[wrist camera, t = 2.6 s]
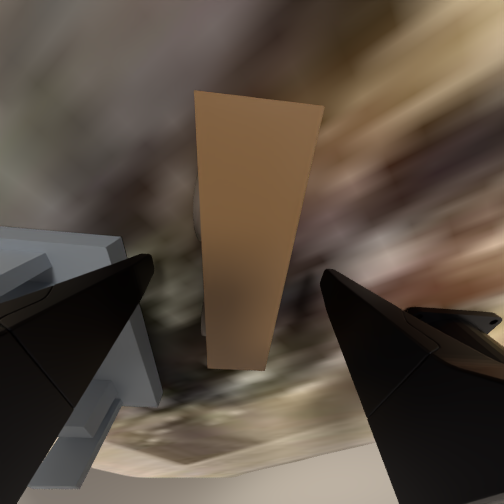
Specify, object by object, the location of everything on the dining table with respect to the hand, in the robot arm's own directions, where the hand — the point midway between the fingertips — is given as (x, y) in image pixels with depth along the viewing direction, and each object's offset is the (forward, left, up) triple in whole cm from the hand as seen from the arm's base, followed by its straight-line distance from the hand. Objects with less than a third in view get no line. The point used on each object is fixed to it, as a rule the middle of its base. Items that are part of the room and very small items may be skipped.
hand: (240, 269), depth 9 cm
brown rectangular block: (0, 0, -2) cm, 2 cm away
